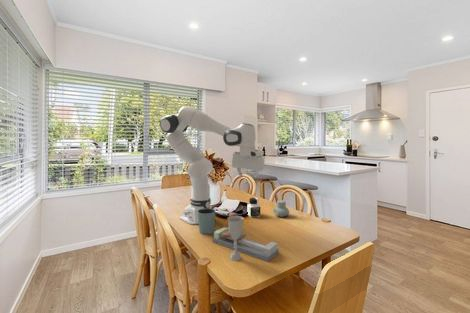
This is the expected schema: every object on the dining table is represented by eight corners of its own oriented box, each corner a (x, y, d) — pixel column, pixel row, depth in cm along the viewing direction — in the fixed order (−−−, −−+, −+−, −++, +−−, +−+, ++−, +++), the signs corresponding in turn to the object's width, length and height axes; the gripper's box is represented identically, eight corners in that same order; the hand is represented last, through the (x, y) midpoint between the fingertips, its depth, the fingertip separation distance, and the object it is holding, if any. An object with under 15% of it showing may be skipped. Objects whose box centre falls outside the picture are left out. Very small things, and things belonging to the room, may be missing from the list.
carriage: (220, 236, 119) (220, 213, 118) (230, 231, 125) (230, 210, 124) (236, 241, 113) (236, 218, 112) (246, 236, 119) (246, 213, 118)
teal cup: (212, 235, 128) (212, 214, 127) (194, 234, 130) (194, 212, 129) (217, 228, 138) (217, 208, 137) (201, 227, 140) (200, 207, 139)
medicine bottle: (250, 217, 157) (250, 200, 156) (247, 214, 164) (247, 197, 163) (260, 216, 159) (260, 199, 158) (256, 213, 166) (256, 196, 165)
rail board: (212, 241, 121) (212, 232, 120) (225, 235, 129) (225, 226, 128) (267, 261, 102) (267, 250, 101) (278, 252, 110) (278, 242, 109)
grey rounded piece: (271, 213, 165) (272, 199, 164) (282, 212, 167) (282, 198, 167) (279, 219, 155) (279, 204, 154) (290, 217, 157) (290, 203, 156)
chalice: (243, 253, 109) (243, 215, 107) (244, 261, 102) (244, 221, 100) (227, 254, 108) (227, 215, 107) (227, 261, 102) (227, 221, 100)
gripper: (229, 151, 137) (229, 175, 138) (260, 153, 125) (259, 179, 126) (236, 151, 142) (235, 174, 143) (265, 152, 130) (265, 177, 131)
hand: (247, 176), depth 134 cm, fingers open, 8 cm apart
